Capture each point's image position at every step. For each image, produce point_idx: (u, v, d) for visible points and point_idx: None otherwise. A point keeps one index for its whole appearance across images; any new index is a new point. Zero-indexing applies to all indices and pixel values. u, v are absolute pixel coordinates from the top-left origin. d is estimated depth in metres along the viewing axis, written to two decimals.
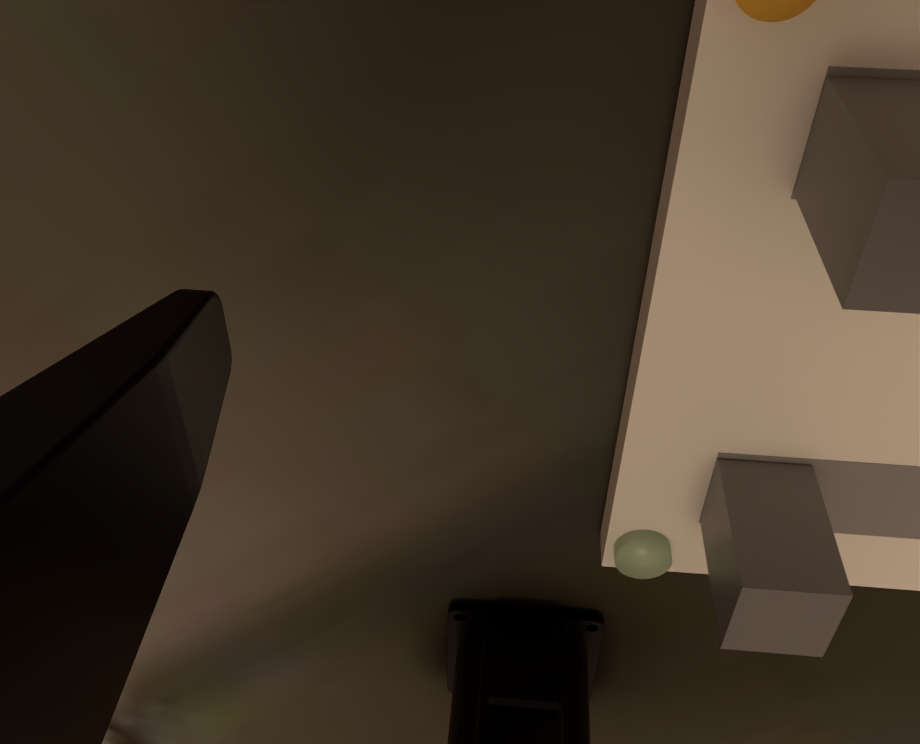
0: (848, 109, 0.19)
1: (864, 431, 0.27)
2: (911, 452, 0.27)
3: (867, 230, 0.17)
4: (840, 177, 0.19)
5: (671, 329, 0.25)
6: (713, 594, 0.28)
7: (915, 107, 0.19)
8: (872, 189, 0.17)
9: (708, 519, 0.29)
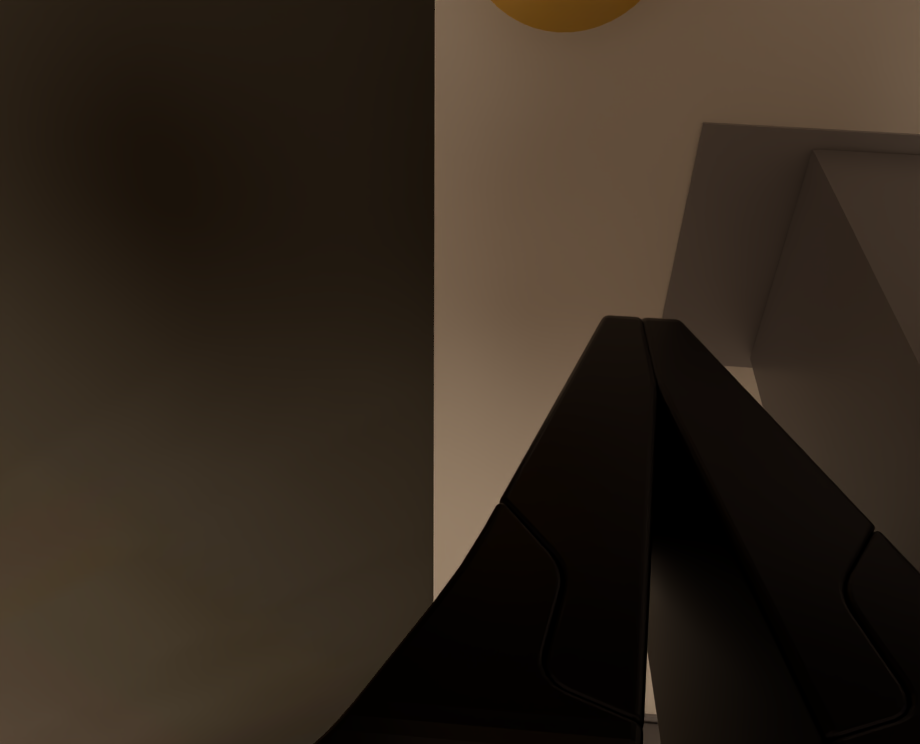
0: (857, 236, 0.08)
1: None
2: None
3: None
4: (838, 383, 0.09)
5: None
6: None
7: None
8: None
9: None
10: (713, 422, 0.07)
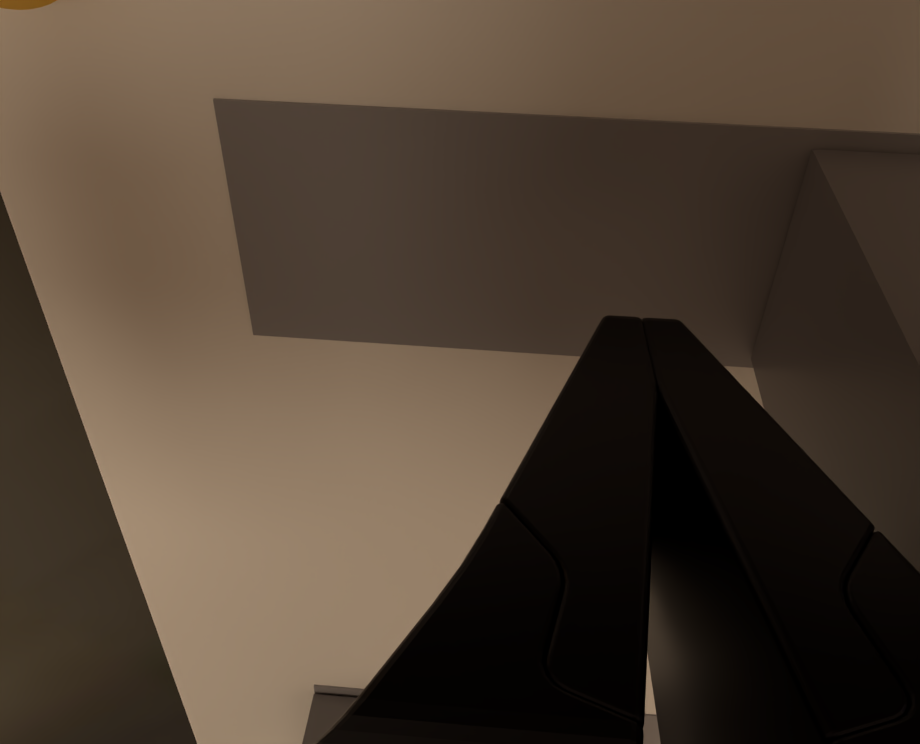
0: (857, 237, 0.08)
1: None
2: None
3: None
4: (838, 383, 0.09)
5: (159, 524, 0.15)
6: None
7: None
8: (919, 472, 0.07)
9: None
10: (713, 422, 0.07)
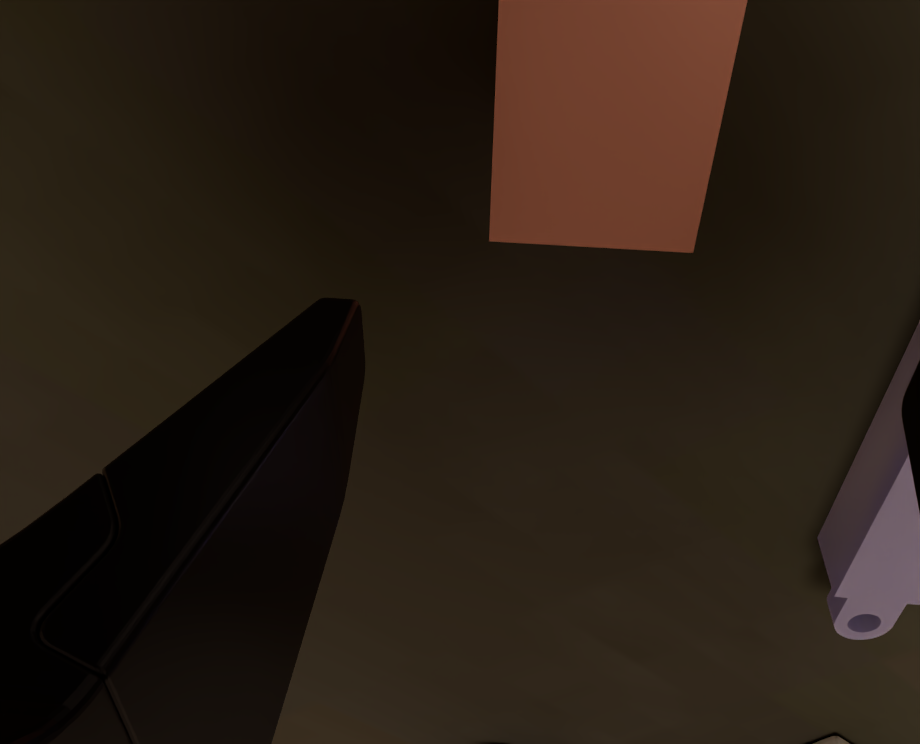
0: None
1: None
2: None
3: None
4: None
5: None
6: None
7: None
8: None
9: None
10: None
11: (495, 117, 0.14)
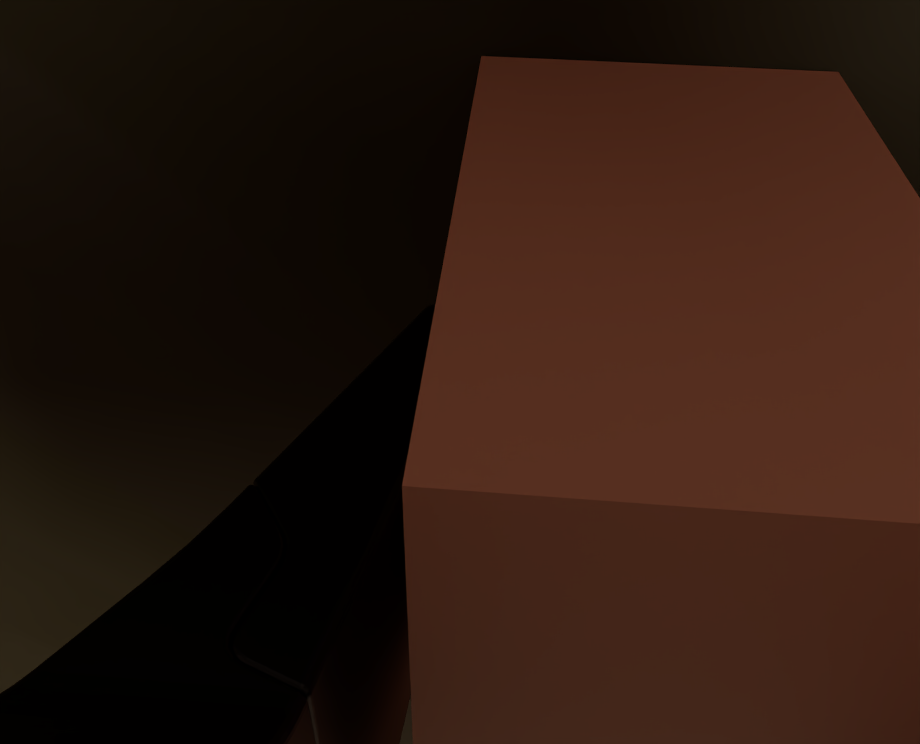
0: None
1: None
2: None
3: None
4: None
5: None
6: None
7: None
8: None
9: None
10: None
11: None
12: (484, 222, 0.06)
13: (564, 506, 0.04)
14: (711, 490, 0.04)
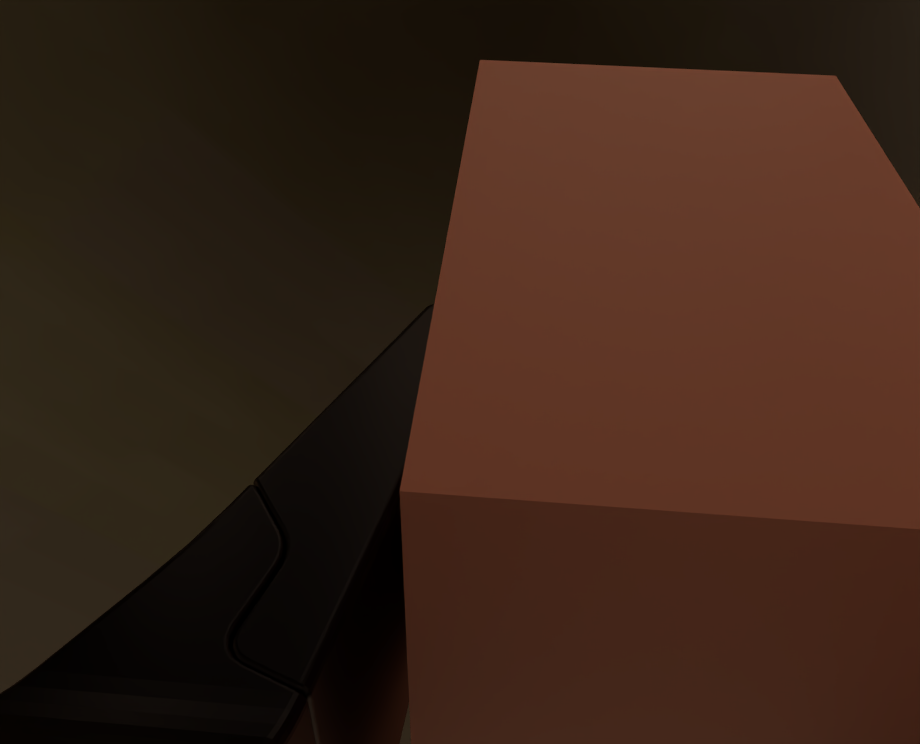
0: None
1: None
2: None
3: None
4: None
5: None
6: None
7: None
8: None
9: None
10: None
11: None
12: (482, 227, 0.07)
13: (562, 511, 0.04)
14: (708, 495, 0.04)
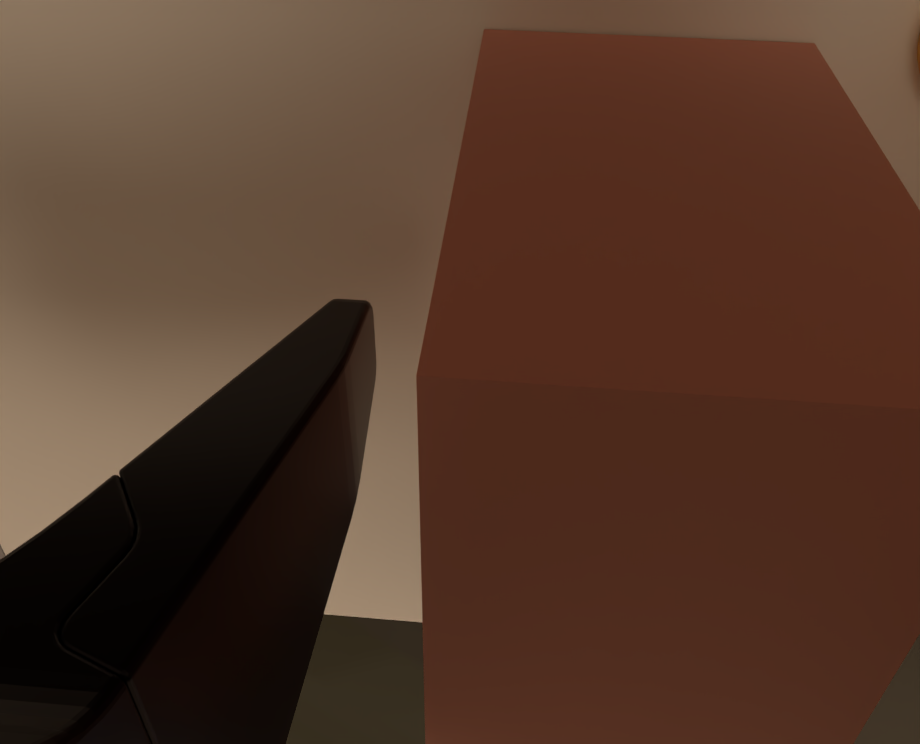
0: None
1: None
2: None
3: None
4: None
5: None
6: None
7: None
8: None
9: None
10: None
11: (425, 637, 0.07)
12: (488, 168, 0.07)
13: (555, 392, 0.05)
14: (684, 378, 0.05)
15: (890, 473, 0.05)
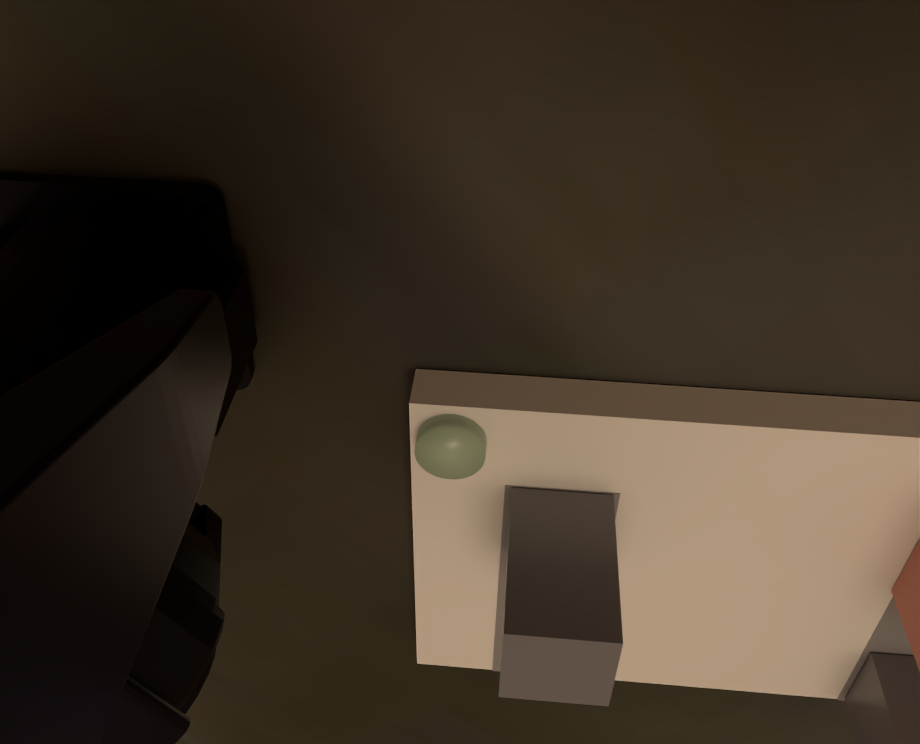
0: None
1: (643, 583, 0.29)
2: None
3: None
4: None
5: (804, 449, 0.24)
6: (513, 575, 0.24)
7: None
8: None
9: (544, 510, 0.25)
10: None
11: None
12: None
13: None
14: None
15: None
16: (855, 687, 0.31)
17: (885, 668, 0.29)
